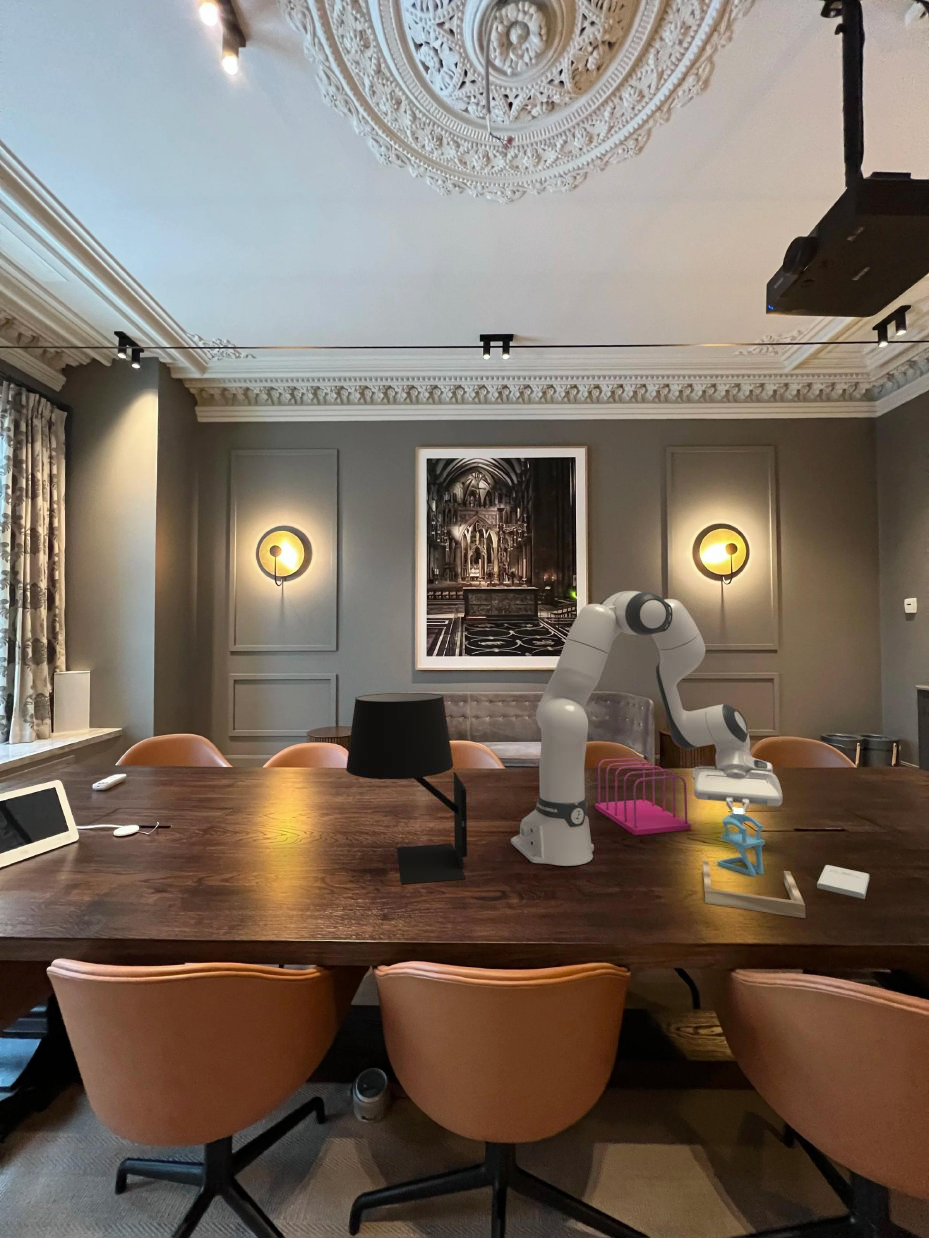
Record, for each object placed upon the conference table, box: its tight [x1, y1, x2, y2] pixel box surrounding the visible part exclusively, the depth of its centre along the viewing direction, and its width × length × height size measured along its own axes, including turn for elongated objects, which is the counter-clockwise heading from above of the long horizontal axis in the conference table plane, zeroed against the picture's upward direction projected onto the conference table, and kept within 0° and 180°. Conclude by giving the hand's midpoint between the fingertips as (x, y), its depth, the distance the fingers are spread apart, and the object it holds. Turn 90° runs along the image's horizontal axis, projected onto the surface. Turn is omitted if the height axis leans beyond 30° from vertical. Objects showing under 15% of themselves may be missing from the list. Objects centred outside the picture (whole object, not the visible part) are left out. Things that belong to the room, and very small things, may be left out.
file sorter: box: [594, 758, 692, 836], centre depth 164 cm, size 17×25×16 cm
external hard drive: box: [816, 864, 870, 900], centre depth 119 cm, size 2×8×12 cm
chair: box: [717, 813, 766, 878], centre depth 128 cm, size 8×8×12 cm
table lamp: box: [345, 692, 468, 886], centre depth 133 cm, size 26×28×40 cm
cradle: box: [702, 860, 806, 919], centre depth 115 cm, size 16×17×2 cm
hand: (738, 816), depth 136 cm, fingers closed
